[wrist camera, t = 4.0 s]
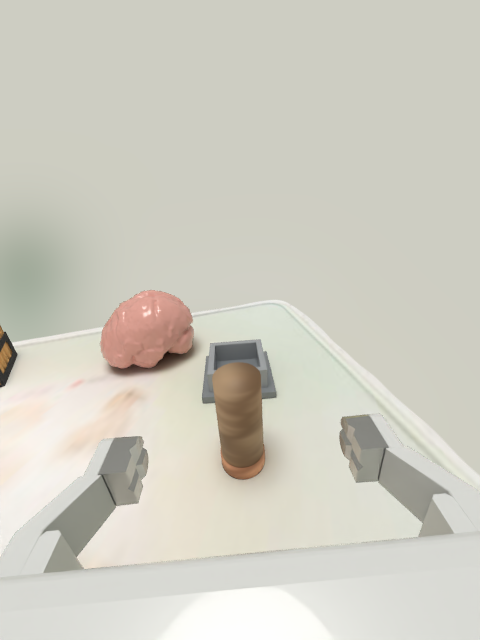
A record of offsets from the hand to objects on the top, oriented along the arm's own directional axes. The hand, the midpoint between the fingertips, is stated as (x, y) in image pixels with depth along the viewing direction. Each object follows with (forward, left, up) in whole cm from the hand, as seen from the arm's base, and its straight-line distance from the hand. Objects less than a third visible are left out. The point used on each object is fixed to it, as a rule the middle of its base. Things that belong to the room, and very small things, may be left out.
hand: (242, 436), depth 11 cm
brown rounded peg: (0, +12, -17) cm, 21 cm away
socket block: (0, +26, -17) cm, 31 cm away
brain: (-15, +35, -18) cm, 42 cm away
